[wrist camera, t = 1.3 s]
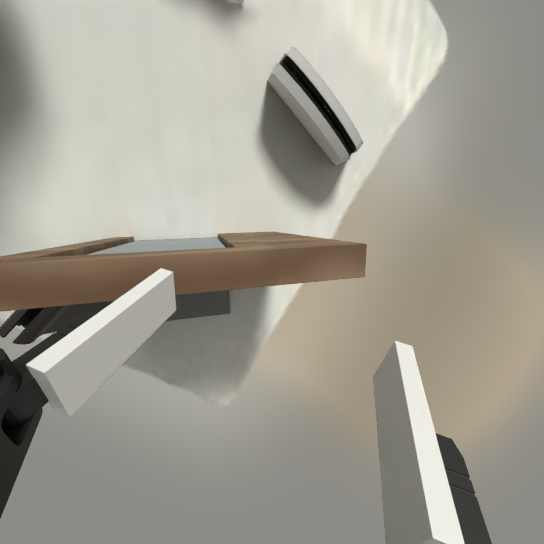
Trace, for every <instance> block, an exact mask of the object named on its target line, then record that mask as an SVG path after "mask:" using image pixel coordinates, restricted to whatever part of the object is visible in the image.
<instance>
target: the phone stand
mask: <svg viewBox="0 0 544 544" xmlns="http://www.w3.org/2000/svg"><path fill="white" fill-rule="evenodd" d="M113 302H114V301H106V302H95V303H85V304H74V305H64V306H53V307H43V308H32V309H22V310H16V311H15V312H14V313H13V314H12V315H11V316H10V317H9V318H8V319H7V320H6V321H5V323H4V324H3V325H2V326H1V327H0V336H1V337H6V336H7V335H8V333H9V332H10V331H11V330H12V329H13V328H14V327H15V326H16V325H18V326H20V325H22V326H23V327H24V328H25V329H24V330H23V331H22V333H20V335H19V336H18V337H17V338H16V339H15V340H14V341H13V343H15V344H29V343H32V342H34V341H35V340H36V338H38V337H39V336H41V335H43V334H47V333H51V332H55V331H58V330H60V329H61V328H63V327H64V326H65V327H66V326H67V324H69V323H70V322H72V321H73V320H75V319H76V318H78V317H79V316H81V315H84V314H86V313H89V312H91V311H96V312H98V313H99V312H100V311H102V310H103V309H104V308H106V307H107V306H109V305H110V304H111V303H113Z"/></svg>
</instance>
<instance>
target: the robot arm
mask: <svg viewBox="0 0 544 544" xmlns="http://www.w3.org/2000/svg"><path fill="white" fill-rule="evenodd" d="M175 311H176V300H175V287H174V275H173V272H172V271H169V270H165V269H162V268H160V269H159V270H158V271H156V272H155V273H153V274H152V275H151V276H149V277H148V278H146V279H145V280H144V281H142V282H141V283H139V284H138V285H137V286H135V287H134V288H132V289H131V290H130V291H128V292H127V293H125V294H124V295H123V296H121V297H120V298H118V299H117V300H116V301H114V302H113V303H111V304H110V305H109V306H107V307H106V308H104V309H103V310H102V311H100V312H99V313H98V312H96V311H91V312H89V313H86V314H84V315H81V316H79V317H78V318H76V319H75V320H73V321H72V322H70V323H69V324H67V326H66V327H65V326H64V327H63V328H61V329H60V330H58V331H57V333H54V334H52V335H51V336H50V337H48V338H47V339H45V340H44V341H42V342H41V343H39V344H38V345H36V346H35V347H33V348H32V349H30V350H29V351H27V352H26V353H25V354H23V355H22V356H20V357H19V358H17V359H16V360H14V361H12V362H11V360H10V359H9V357H8V356H7V354H6V353H5V352H4V350H3V349H1V348H0V518H1V515H2V513H3V510H4V508H5V506H6V503H7V501H8V498H9V496H10V493H11V491H12V488H13V486H14V483H15V481H16V478H17V476H18V473H19V471H20V468H21V466H22V463H23V461H24V458H25V455H26V453H27V451H28V448H29V446H30V443H31V441H32V438H33V436H34V433H35V431H36V428H37V426H38V423H39V421H40V418H41V416H42V410H43V409H42V407H43V406H44V405H45V404H46V403H47V402H48V401H49V403H50V404H51V406H52V408H53V409H54V410H56V411H58V412H60V413H62V414H65V415H66V416H68V417H71V416H72V414H74V413H75V412H76V411H77V410H78V409H79V408H80V406H81V405H82V404H83V403H84V402H85V401H86V400H87V399H88V398H89V397H90V396H91V395H92V394H93V393H94V392H95V391H96V390H97V389H98V388H99V387H100V386H101V385H102V384H103V383H104V382H105V381H106V380H107V379H108V378H109V377H110V376H111V375H112V374H113V373H114V372H115V371H116V370H117V369H118V368H119V367H120V366H121V365H122V364H123V363H124V362H125V361H126V360H127V359H128V358H129V357H130V356H131V355H132V354H133V353H134V352H135V351H136V350H137V349H138V348H139V347H140V346H141V345H142V344H143V343H144V342H145V341H146V340H147V339H148V338H149V337H150V336H151V335H152V334H153V333H154V332H155V331H156V330H157V329H158V328H159V327H160V326H161V325H162V324H163V323H164V322H165V321H166V320H167V319H168V318H169V317H170V316H171V315H172V314H173V313H174V312H175ZM373 381H374V394H375V407H376V419H377V420H376V421H377V433H378V447H379V460H380V474H381V487H382V501H383V513H384V527H385V540H386V544H492V543H491V540H490V537H489V534H488V531H487V528H486V525H485V522H484V519H483V516H482V513H481V510H480V507H479V504H478V500H477V498H476V497H475V495H474V494H475V492H474V489H473V485H472V482H471V480H469V473H468V470H467V467H466V464H465V461H464V458H463V457H462V455H461V453H460V452H459V450H458V448H457V447H456V445H455V444H454V442H453V440H452V439H450V438H447V437H444V436H441V435H439V434H436V433H435V430H434V427H433V423H432V419H431V415H430V411H429V407H428V404H427V400H426V396H425V393H424V389H423V385H422V382H421V377H420V374H419V370H418V366H417V362H416V359H415V355H414V351H413V347H412V346H410V345H407V344H404V343H400V342H397V341H395V342H394V343H393V345H392V347H391V348H390V350H389V351H388V353H387V355H386V356H385V358H384V360H383V361H382V363H381V364H380V366H379V368H378V369H377V371H376V372H375V374H374V376H373Z"/></svg>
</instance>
